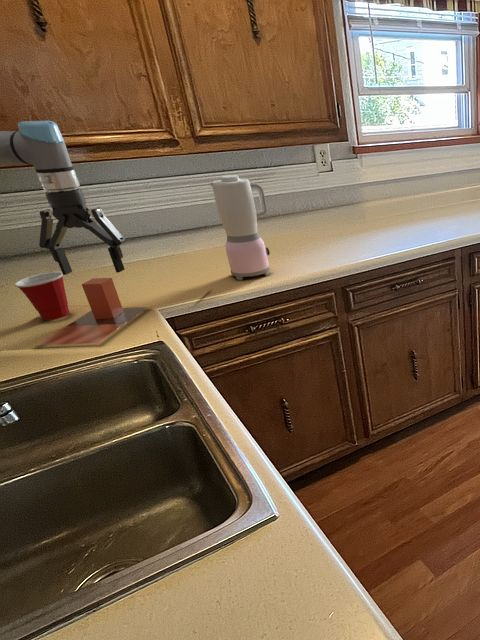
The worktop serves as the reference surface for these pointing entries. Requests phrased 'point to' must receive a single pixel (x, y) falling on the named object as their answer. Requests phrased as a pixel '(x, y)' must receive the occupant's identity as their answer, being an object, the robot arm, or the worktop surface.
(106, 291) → the terracotta block
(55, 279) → the plastic cup
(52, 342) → the sorting board
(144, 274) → the worktop surface
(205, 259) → the worktop surface
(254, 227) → the blender
